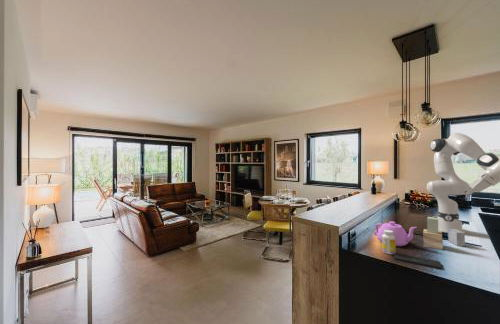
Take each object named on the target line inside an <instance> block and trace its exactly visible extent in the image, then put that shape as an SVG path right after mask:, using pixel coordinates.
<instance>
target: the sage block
mask: <svg viewBox="0 0 500 324" xmlns="http://www.w3.org/2000/svg"><path fill="white" fill-rule="evenodd" d="M426 229H427V232H429V233H434V234H438V217H433V216H427V218H426Z"/></svg>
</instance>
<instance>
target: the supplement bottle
mask: <svg viewBox="0 0 500 324" xmlns="http://www.w3.org/2000/svg"><path fill="white" fill-rule="evenodd" d="M396 247H397V246H396V245H395V236H393V231H391V230H384V234H383V235H382V242H381V248H382V250H381V251H382V252H383V253H384V254H387V255H393V256H394V254H395V253H397V251H396V250H397V249H396Z"/></svg>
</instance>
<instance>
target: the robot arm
mask: <svg viewBox="0 0 500 324" xmlns="http://www.w3.org/2000/svg"><path fill="white" fill-rule="evenodd" d="M429 149H430V150H431V151H432V152H434V154H433V166H434V172H435V174H436V175H437V176H439V177H441V178H442V179H444V180H441V179H438V180H437V179H436V180H430V181H428V182H427V183H426V191H427V192H428V193H429V194H431V195H433V196H434V198H435V199H436V201H437V206H438V207H437V209H438V211H437V218H438V231H441V232H442V233H447V234H448V229H456V230H459V231H461V232H464V233H465V234H467V233H466V231H465V230H464V229H463V222H462V221H461V220H460V214H459V204H458V203H457V201H455V200H453V199H451V198H449V196H461V195H463V196H465V195H466V196H470V195H471V194H475V192H476V193H480V192H482V191H484V190H487V189H488V188H490V187H491V186H492V187H494V186H496V185H497V184H500V154H495V153H492V152H491V153H489V152H488V153H487V152H486V151H484V150H483V148H482V147H481V146H480V144H479V143H478V142H477V141H475V140H474V139H473V138H472V137H470V136H468V135H466V134H463V133H460V132H455V133H452V134H450V135H449V137H448V138H443V137H442V138H436V139H433V140H431V142H430V145H429ZM458 154H463V155H464V156H466V157H469V158H471V159H473V160H475V161H476V164H477V165H478V166H479V167H480V168H482V170H483V171H481V172H480V173H479V174H477V177H478V178H476V180H474V181H473V182H471V183H468V182H467V181H465V180H463V179H461V178H460V176H458V174H457V173H456V171H455V169H454V165H453V160H452V156H457V155H458Z"/></svg>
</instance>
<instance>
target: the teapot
mask: <svg viewBox="0 0 500 324" xmlns="http://www.w3.org/2000/svg"><path fill="white" fill-rule="evenodd" d="M378 226H380V227H379V229H378ZM374 227H375V231H374V235H375V236H376V237H377V238H378V240H379V242H381V243H382V235H383V234H384V230H391V231H393V236H395V245H396V247H404V246H407V245H408V244H409V242H411V240H413V238H414V230H415V229H416V228H417V226H411V227H410V228H409V231H408V233H407V231H406V230H405V229H404V227H403V226H402V225H401V224H397V223H396V221H393V220H392V221H389V222H385V223H381V222H380V223H379V222H378V223H376V224H375V226H374Z"/></svg>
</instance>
